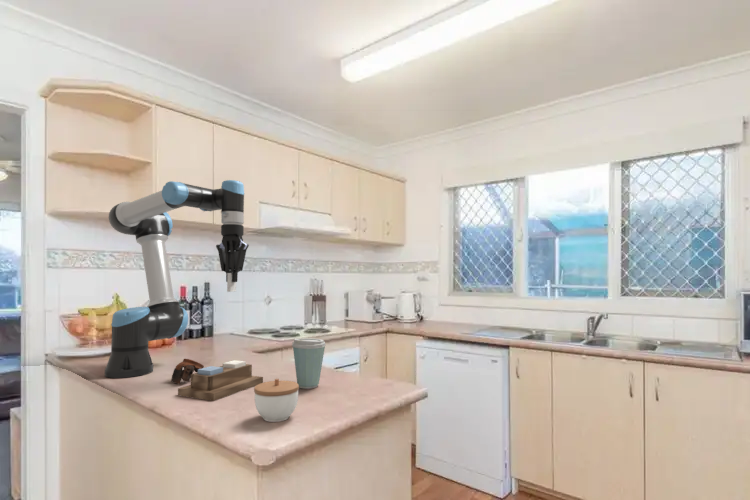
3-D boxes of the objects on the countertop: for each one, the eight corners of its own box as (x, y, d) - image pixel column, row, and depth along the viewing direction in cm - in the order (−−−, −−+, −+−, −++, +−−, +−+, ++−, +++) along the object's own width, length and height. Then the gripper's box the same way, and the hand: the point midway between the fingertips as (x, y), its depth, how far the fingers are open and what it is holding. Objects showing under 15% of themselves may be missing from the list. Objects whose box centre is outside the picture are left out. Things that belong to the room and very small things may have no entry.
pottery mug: (167, 381, 142) (179, 358, 146) (194, 391, 145) (205, 368, 149) (169, 379, 132) (182, 354, 136) (198, 390, 135) (210, 365, 139)
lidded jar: (306, 419, 102) (306, 380, 103) (263, 429, 96) (263, 387, 96) (287, 408, 111) (288, 372, 111) (247, 416, 105) (248, 377, 105)
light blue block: (197, 383, 124) (197, 369, 125) (210, 379, 129) (210, 366, 129) (210, 384, 122) (210, 370, 123) (222, 380, 127) (223, 367, 127)
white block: (222, 375, 134) (222, 363, 134) (233, 372, 138) (234, 360, 138) (234, 377, 131) (234, 364, 132) (245, 373, 136) (245, 361, 136)
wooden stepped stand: (177, 395, 123) (178, 374, 124) (229, 379, 142) (230, 361, 143) (213, 400, 118) (214, 379, 118) (262, 383, 137) (263, 364, 137)
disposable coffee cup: (306, 380, 140) (306, 335, 141) (332, 384, 134) (332, 337, 135) (284, 388, 131) (284, 339, 132) (311, 392, 125) (311, 341, 126)
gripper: (210, 224, 148) (209, 291, 147) (239, 222, 143) (238, 292, 141) (226, 226, 155) (225, 291, 153) (254, 224, 149) (253, 291, 148)
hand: (231, 291), depth 147 cm, fingers closed
